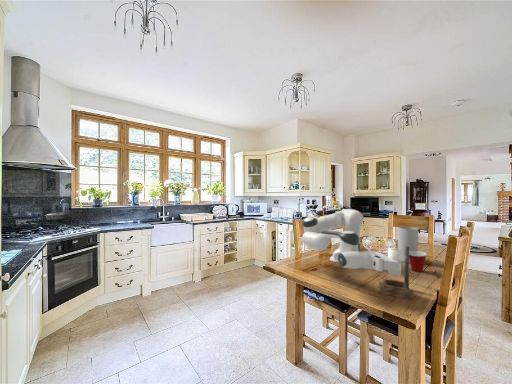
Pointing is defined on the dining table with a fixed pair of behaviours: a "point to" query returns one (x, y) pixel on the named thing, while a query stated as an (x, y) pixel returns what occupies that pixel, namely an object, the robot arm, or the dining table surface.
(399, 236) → the cylinder vase
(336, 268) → the dining table surface
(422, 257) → the plastic cup
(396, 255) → the paper roll
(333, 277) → the dining table surface
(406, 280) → the roll holder
